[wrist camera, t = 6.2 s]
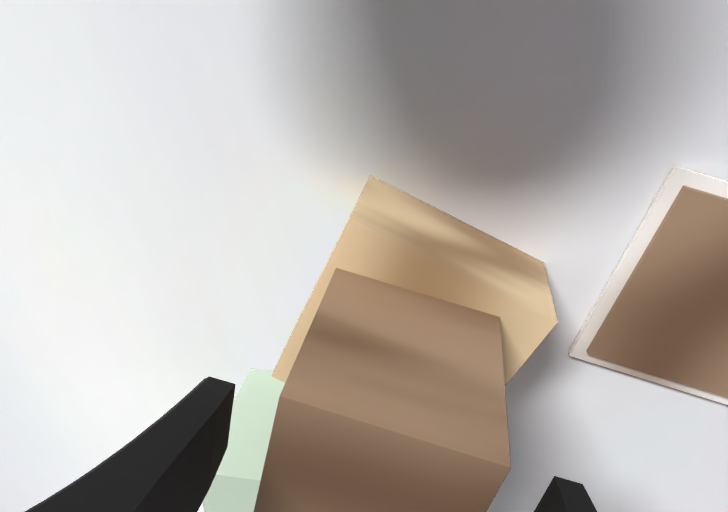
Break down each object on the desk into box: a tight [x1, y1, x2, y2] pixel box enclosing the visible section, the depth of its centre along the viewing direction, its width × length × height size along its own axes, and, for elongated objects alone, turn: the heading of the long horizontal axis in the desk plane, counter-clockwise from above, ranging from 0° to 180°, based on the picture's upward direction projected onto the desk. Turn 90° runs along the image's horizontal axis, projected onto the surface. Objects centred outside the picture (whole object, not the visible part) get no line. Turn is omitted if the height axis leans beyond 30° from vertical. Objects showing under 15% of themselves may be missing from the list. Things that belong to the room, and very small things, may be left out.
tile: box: [568, 165, 728, 405], centre depth 17 cm, size 7×7×1 cm
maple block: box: [271, 175, 558, 386], centre depth 17 cm, size 6×6×4 cm
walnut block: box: [254, 268, 511, 512], centre depth 14 cm, size 4×4×5 cm
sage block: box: [203, 368, 285, 512], centre depth 20 cm, size 4×4×5 cm
